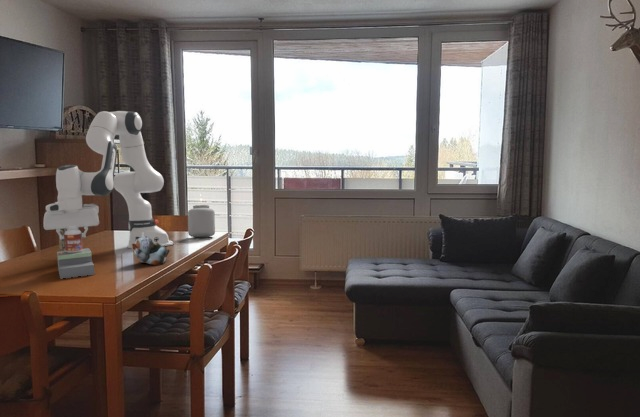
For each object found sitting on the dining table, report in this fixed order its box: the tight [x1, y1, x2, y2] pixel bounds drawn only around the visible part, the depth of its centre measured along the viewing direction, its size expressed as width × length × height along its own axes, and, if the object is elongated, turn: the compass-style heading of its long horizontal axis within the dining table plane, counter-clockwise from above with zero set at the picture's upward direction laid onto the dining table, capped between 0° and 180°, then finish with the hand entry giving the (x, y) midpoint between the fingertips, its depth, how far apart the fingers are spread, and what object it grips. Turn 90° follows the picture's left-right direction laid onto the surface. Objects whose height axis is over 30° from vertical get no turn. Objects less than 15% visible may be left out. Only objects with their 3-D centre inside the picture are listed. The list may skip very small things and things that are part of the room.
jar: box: [187, 194, 216, 238], centre depth 270 cm, size 19×15×25 cm
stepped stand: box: [56, 247, 96, 280], centre depth 193 cm, size 12×17×8 cm
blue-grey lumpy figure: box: [131, 236, 171, 266], centre depth 208 cm, size 15×12×14 cm
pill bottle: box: [64, 225, 83, 253], centre depth 195 cm, size 6×6×11 cm
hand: (73, 238), depth 195 cm, fingers open, 6 cm apart
